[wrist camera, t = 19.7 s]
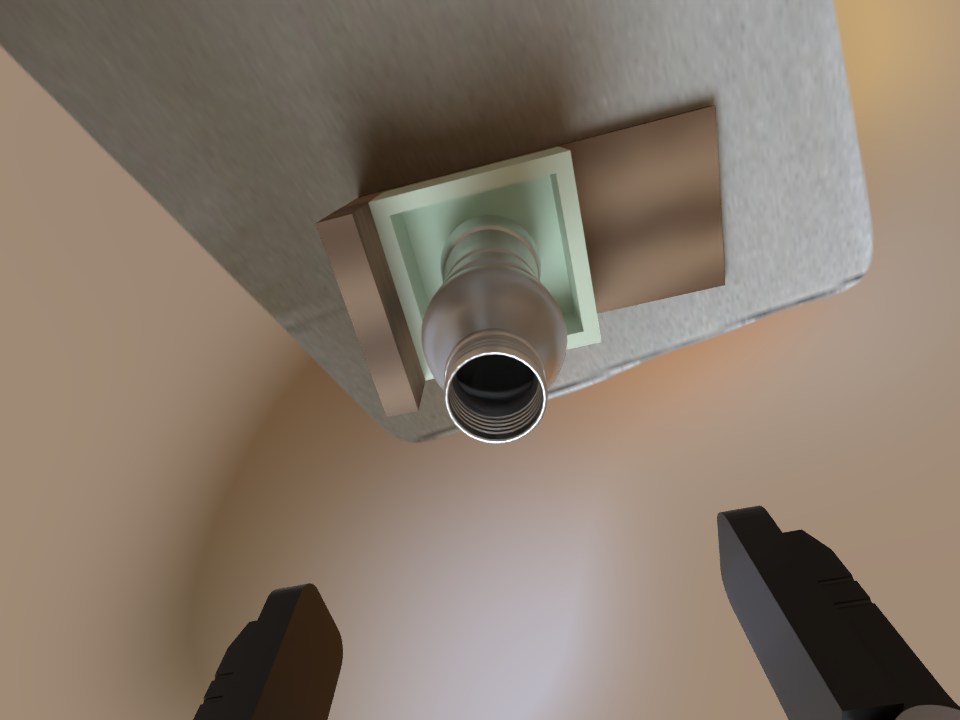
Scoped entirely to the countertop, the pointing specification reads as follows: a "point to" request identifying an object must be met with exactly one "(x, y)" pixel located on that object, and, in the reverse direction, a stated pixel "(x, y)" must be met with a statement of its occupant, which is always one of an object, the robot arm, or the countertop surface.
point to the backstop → (607, 230)
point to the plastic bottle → (493, 331)
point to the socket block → (502, 192)
